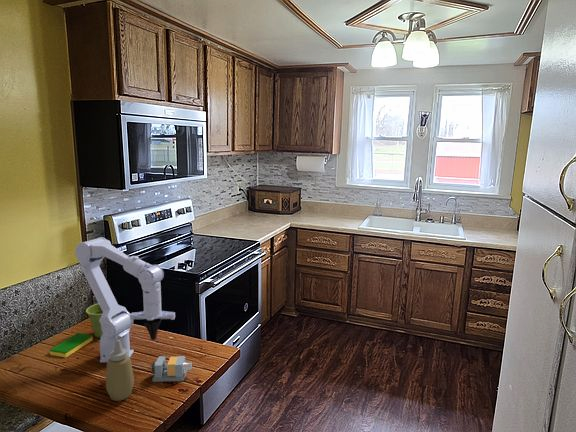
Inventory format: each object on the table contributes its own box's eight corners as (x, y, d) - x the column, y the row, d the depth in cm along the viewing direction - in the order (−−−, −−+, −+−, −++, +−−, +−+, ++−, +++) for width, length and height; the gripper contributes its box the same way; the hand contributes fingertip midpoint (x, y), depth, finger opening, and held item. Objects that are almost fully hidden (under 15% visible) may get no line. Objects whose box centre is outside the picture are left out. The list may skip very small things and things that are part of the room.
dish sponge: (93, 340, 155) (93, 335, 154) (65, 358, 142) (65, 352, 141) (78, 338, 156) (77, 332, 156) (49, 355, 143) (48, 349, 143)
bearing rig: (152, 381, 128) (151, 366, 127) (157, 370, 134) (156, 355, 133) (183, 380, 129) (183, 365, 128) (187, 370, 135) (186, 355, 134)
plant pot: (90, 329, 163) (88, 303, 161) (121, 326, 167) (119, 300, 165) (85, 343, 152) (83, 315, 150) (118, 339, 156) (117, 312, 154)
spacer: (167, 376, 129) (167, 364, 128) (170, 367, 134) (170, 356, 133) (175, 375, 129) (175, 364, 128) (178, 367, 134) (178, 356, 134)
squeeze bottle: (106, 406, 116) (102, 349, 112) (106, 390, 123) (103, 337, 120) (135, 400, 119) (132, 344, 116) (134, 385, 126) (131, 332, 123)
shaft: (152, 374, 129) (151, 364, 129) (154, 368, 133) (154, 359, 132) (190, 373, 130) (190, 364, 130) (192, 367, 134) (192, 358, 133)
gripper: (126, 306, 129) (128, 344, 132) (171, 305, 131) (172, 343, 133) (133, 298, 136) (134, 334, 139) (175, 297, 138) (176, 334, 140)
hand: (153, 338), depth 136 cm, fingers closed
